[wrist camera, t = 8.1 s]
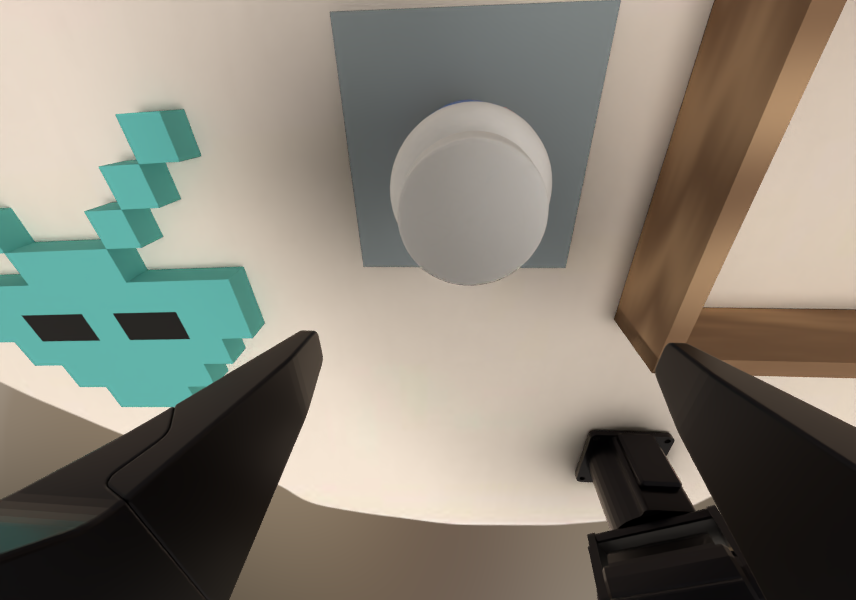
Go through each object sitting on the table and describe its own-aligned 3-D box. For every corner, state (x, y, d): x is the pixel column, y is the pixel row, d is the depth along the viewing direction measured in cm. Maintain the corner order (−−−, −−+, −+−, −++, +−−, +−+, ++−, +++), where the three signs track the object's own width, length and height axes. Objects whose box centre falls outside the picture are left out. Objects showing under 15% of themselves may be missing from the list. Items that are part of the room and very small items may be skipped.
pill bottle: (539, 122, 16) (631, 153, 8) (493, 226, 19) (525, 330, 11) (429, 80, 16) (404, 65, 7) (398, 193, 18) (354, 277, 10)
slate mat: (562, 263, 21) (565, 268, 20) (365, 262, 21) (363, 266, 21) (614, 2, 14) (620, -1, 14) (333, 14, 15) (329, 11, 15)
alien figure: (-140, 133, 20) (71, 386, 30) (-203, 138, 18) (46, 406, 28) (189, 108, 18) (292, 385, 28) (158, 110, 16) (281, 407, 26)
